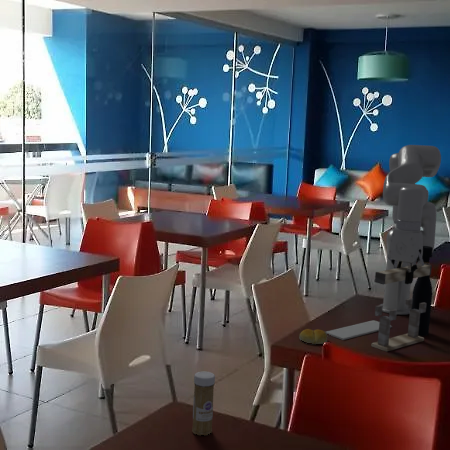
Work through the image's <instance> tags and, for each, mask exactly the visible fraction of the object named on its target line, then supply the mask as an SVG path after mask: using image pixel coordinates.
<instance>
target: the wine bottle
mask: <svg viewBox="0 0 450 450" xmlns="http://www.w3.org/2000/svg"><path fill="white" fill-rule="evenodd" d="M432 251H433V252H434V250H433V247H429V246H423V255H422V259H423V262H424V264H428V265H431V264H430V258H432V257H433V253H432ZM414 283H415V284H414V286H413V289H412V296H411V297H412V298H411V299H412V308H411V309H417V310H419V305H420V303H423V302H424V303H426V312H423V313H420V321H419V331H418V336H420V337H426V336H429V334H430V322H431V312H432V300H433V287H432V281H431V275H427V276H422V277H418V278H417V279H416V281H415V282H414Z"/></svg>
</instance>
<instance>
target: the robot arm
mask: <svg viewBox="0 0 450 450" xmlns="http://www.w3.org/2000/svg"><path fill="white" fill-rule="evenodd" d="M389 157H390V158H389V162H388V163H389V165H388V166H389V168H388V169H389V172H388V174H386V176H385V179H384V181H383V188H382V199H383V202H384V203H385V204H386V205H388V206H390V207H391V206H392V213H391V214H392V221H393V224H394V225H395V227H394V228H393V229H391V230H389V231H388V232H387V234H386V238H385V239H386V267H385V268H386V270H390V269H396V268H401V267H408V272H406V277H405V280H403V281H398V282H393V283H388V284H384V293H383V300H382V301H383V302H382V303H380V304H379V305H382V306H383V310H382V313H386V314H389V312H390V310H393V309H395V310H397V315H402V316H403V315H405V316H406V315H410V310H411V308H410V309H406V308H405V302H406V299H411V297H410V296H411V287H412V283H413V282H414V278H413V275H414V271H416V269H418V268H419V267H422V266H424V262H423V259H422V255H423V246H429V247H433V251H432V254H433V253H434V248H435V241H436V227H437V225H436V224H437V208H436V205H435V203H433V202H431V201H429V196H430V195H429V194H430V193H429V190H428V189H427V187H426V186H425V185H424V184H419V183H418V182H419V181H421V179H422V178H433V177H435V176H436V175H437V173H438V172H439V168H440V167H441V164H442V163H441V162H442V155H441V151H440V149H439V148H438V146H437V147H436V146H434V145H423V144H422V145H421V144H407V145H404V146H402V147H401V148H400V149H399V151H398V152H397V153H392V154H391V155H390V156H389ZM417 183H418V184H417Z"/></svg>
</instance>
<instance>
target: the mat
mask: <svg viewBox="0 0 450 450" xmlns="http://www.w3.org/2000/svg"><path fill="white" fill-rule="evenodd" d="M379 323H380V321H377V320H373V319H372V320H369V321H364V322H360V323H356V324H353V325H348V326H343V327H340V328H336V329H335V328H334V329H331V330H327V331H324V332H325V333H326V334H329V335H328V336H330V335H331V337H333V338H336V339H340V340H342V341H346V340H348V339H349V340H350V339H354V338H357V337H360V336H365V335H369V334H372V333H376V332H379ZM392 328H393V325H391V324H390V329H392Z"/></svg>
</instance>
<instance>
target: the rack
mask: <svg viewBox="0 0 450 450" xmlns="http://www.w3.org/2000/svg"><path fill="white" fill-rule="evenodd" d="M405 308H406V309H410V308H412V298H409V299H406V302H405ZM382 310H383V306H382V305H380V304H378V305H375V309H374V316H376V317H379V322H380V323H379V331H378V334H377V335H378V336H377V341H375V342H372V343H371V345H370V346H371V347H372V348H375V349H379V350H381V351H383V352H387V353H388V352H389V351H394V350H398V349H400V348H405V347H407V346H410V345H414V344H417V343H421V342H424V341H425V337H424V336H418V331H419V321H420V313H423V312H426V303H424V302H423V303H420V305H419V310H417V309H411V310H410V314H408V315H409V317H408V326H407V327H408V329H407V333H404V334H400V335H397V336H393V337H390V331H391V328H390V325H391V321H395V320H397V317H398V316H397V315H398V314H397V310H395V309H393V310H390V312H389V313H388V314H389V315H388V316H386V315H383V311H382Z"/></svg>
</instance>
